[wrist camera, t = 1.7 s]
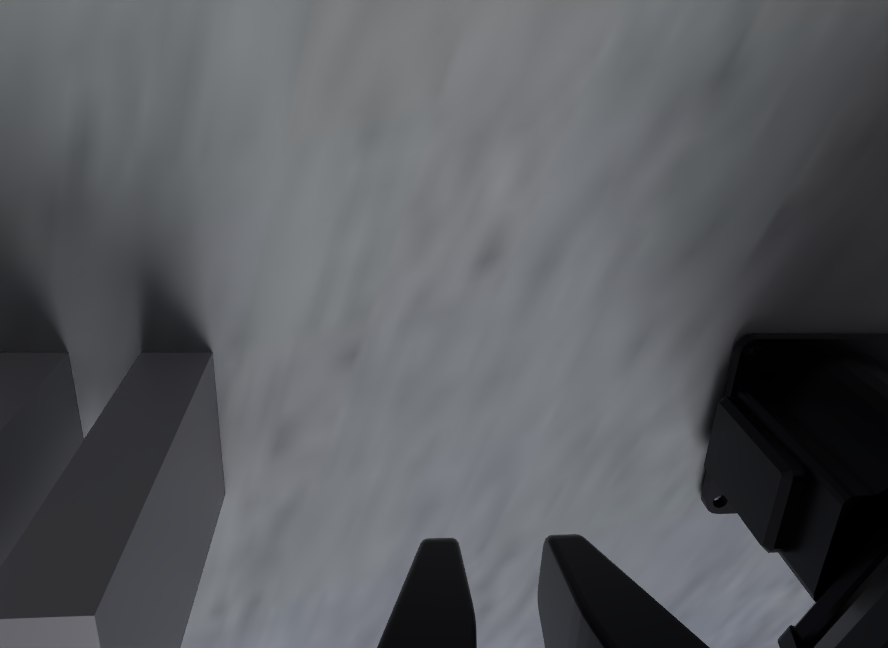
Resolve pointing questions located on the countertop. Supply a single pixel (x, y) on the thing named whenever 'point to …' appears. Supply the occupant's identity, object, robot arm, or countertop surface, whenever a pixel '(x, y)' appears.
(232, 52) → the countertop surface
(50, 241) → the countertop surface
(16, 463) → the domino
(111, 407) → the domino
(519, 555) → the countertop surface
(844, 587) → the robot arm
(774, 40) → the countertop surface
